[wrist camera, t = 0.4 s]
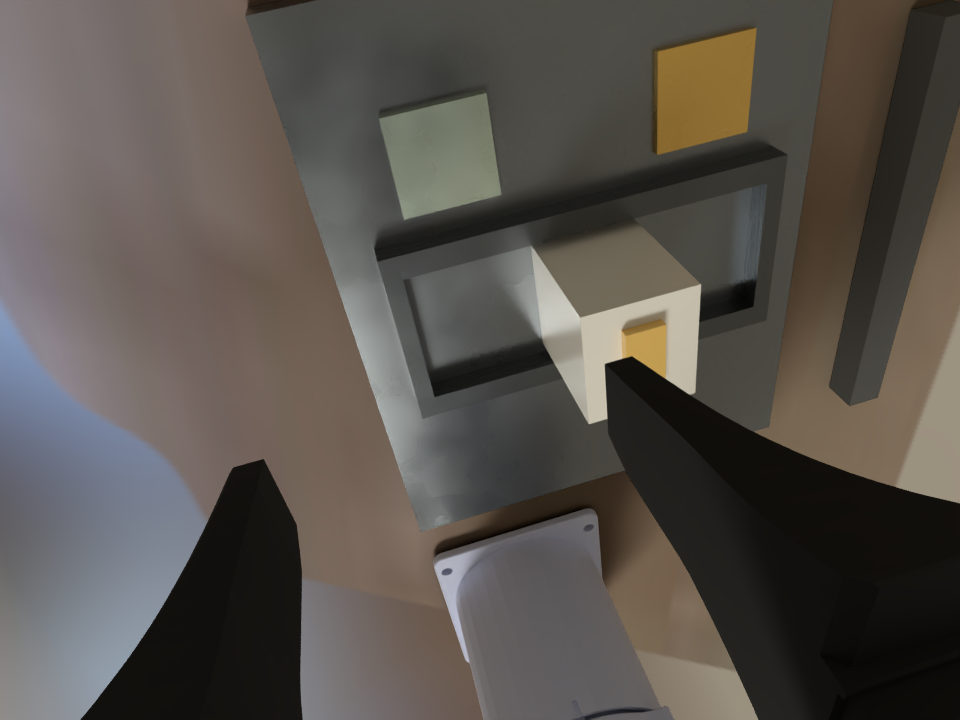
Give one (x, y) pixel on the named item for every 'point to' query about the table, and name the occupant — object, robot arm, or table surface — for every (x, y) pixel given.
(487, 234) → the panel
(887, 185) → the dark gray bar
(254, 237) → the table surface
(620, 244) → the toggle
